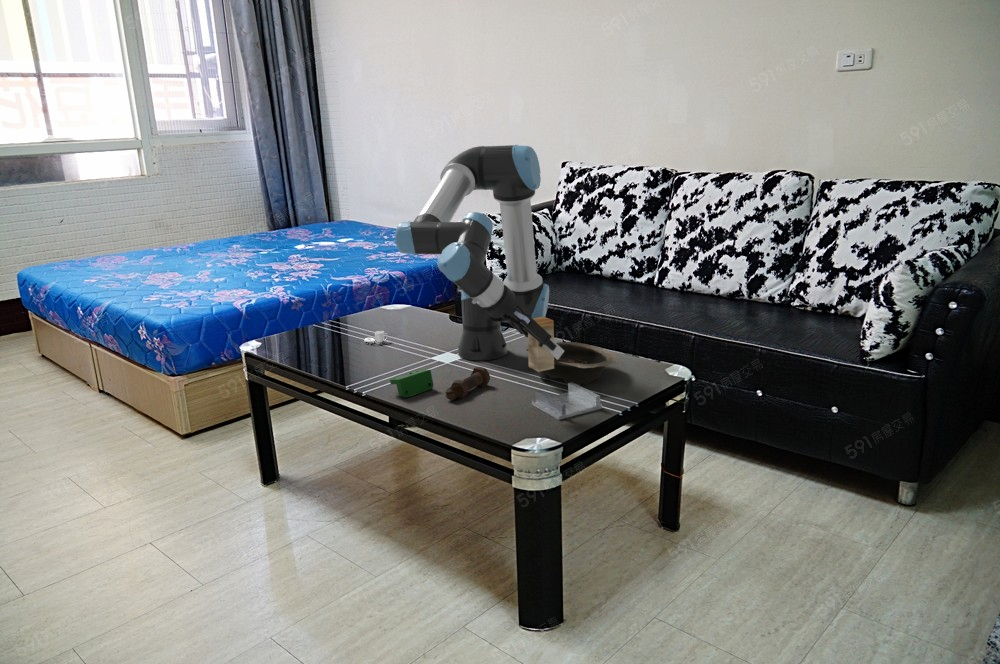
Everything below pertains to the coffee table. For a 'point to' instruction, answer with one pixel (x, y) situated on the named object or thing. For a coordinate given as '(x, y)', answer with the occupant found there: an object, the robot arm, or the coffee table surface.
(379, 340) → the teacup and saucer
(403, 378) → the green notched mounting bracket
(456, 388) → the bolt
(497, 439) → the coffee table surface
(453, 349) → the coffee table surface
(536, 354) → the block
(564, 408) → the keeper bracket
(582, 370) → the stone bowl
